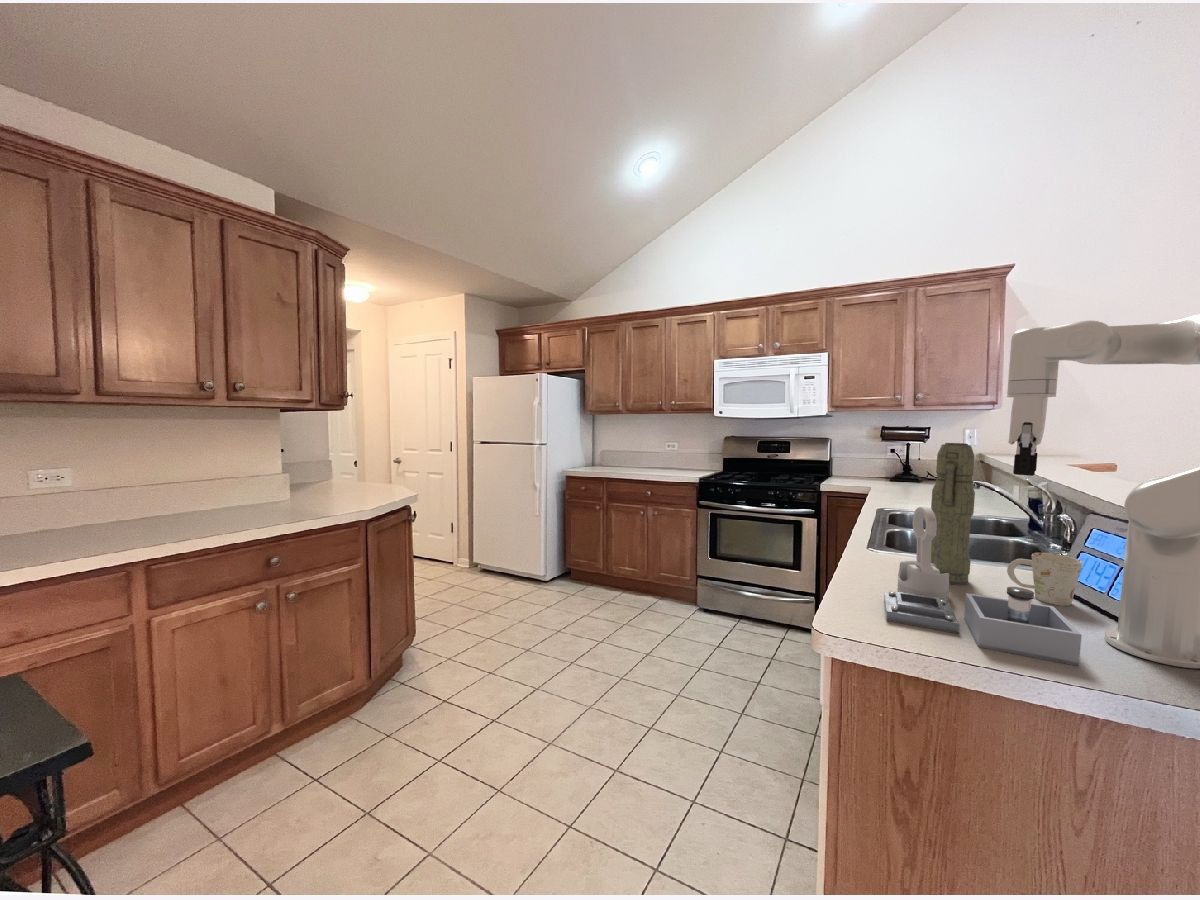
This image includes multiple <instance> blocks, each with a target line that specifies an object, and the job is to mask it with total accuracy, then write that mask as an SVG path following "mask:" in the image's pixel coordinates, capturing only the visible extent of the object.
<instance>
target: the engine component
mask: <svg viewBox="0 0 1200 900" xmlns="http://www.w3.org/2000/svg"><path fill="white" fill-rule="evenodd" d="M924 520H925V530H924ZM912 530H913V534H914V536H915V537H916V560H903V561H900V563H899V566H898V567H899V569H898V573H897V590H896V591H897V592H898V591H899V592H903V593H909V594H916V595H922V596H928V597H935V598H940V599H941V600H945V601H946V602H948V600H949V594H950V593H949V592H950V591H949V590H950V584H949V573H945V574H940V571H939V570H938V569H937V568H936V565H935V564H933V563H931V541H932V540H933V539H934V537H935V536H936V530H937V522H936V517H935V514H934V512H933V510H932V509H931V507H929V506H927V507H926V506H919V507H917V508H916V509H915V510H914V512H913V515H912Z"/></svg>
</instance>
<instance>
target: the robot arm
mask: <svg viewBox="0 0 1200 900" xmlns="http://www.w3.org/2000/svg"><path fill="white" fill-rule="evenodd" d="M1009 351H1010V353H1009V363H1008V364H1009V365H1008V376H1007V377H1008V378H1007V391H1006V397H1007V398H1013V399H1012V406H1011V411H1010V412H1011V413H1010V424H1009V434H1008V444H1009V445H1011V446H1012V445H1015V443H1016V442H1017V443H1016V444H1017V445H1016V452H1015V454H1014V456H1013V457H1014V460H1013V470H1012V471H1013V474H1014V475H1015V476H1016V475H1019V476H1030V477H1031V476H1032V477H1033V476H1035V474H1036V471H1037V467H1038V466H1037V464H1038V452H1037V446H1039V445H1041V443H1042V439H1043V436H1044V432H1045V425H1046V418H1047V410H1048V398H1054V397H1057V387H1058V377H1059V376H1058V375H1059V363H1060V361H1071V362H1076V363H1078V364H1079V363H1080V364H1084V365H1180V366H1181V365H1182V366H1184V365H1185V366H1186V365H1188V366H1189V365H1200V314H1195V315H1192V316H1189V317H1186V318H1182V319H1177V320H1173V321H1172V320H1171V321H1166V322H1158V323H1148V324H1146V323H1145V324H1127V325H1108V324H1106V323H1104V322H1103V321H1098V320H1081V321H1076V322H1071V323H1067V324H1066V323H1065V324H1062V325H1057V326H1051V327H1050V326H1048V327H1045V326H1043V327H1041V326H1040V327H1038V326H1037V327H1032V328H1031V327H1029V328H1022V329H1020V330H1017V331H1015V332H1014V333H1013V334H1012V336H1011V340H1010V350H1009ZM1123 509H1124V514H1125V516H1126V518H1127V520H1128V524H1127V525H1128V526H1127V533H1126V540H1125V541H1126V542H1125V551H1124V561H1123V571H1122V581H1121V588H1120V589H1121V590H1120V591H1121V592H1120V603H1119V611H1118V612H1119V613H1118V622H1117V629H1109V630H1107V631H1104V640H1105V641H1106V642H1107V643H1108V644H1109V645H1110V646H1112V647H1114V648H1116V649H1118V650H1121V651H1123V652H1124V653H1127V654H1130V655H1132V656H1135V657H1138V658H1141V659H1144V660H1148V661H1150V662H1151V661H1152V662H1155V663H1159V664H1163V665H1168V666H1173V667H1179V668H1185V669H1200V467H1197V468H1194V469H1191V470H1187V471H1185V472H1181V473H1178V474H1174V475H1171V476H1169V475H1165V476H1158V477H1157V476H1156V477H1153V478H1150V479H1146V480H1145V481H1143V482H1141V483H1139V484H1138V485H1137V486H1135V487H1134V488H1133V489H1132V490H1131V491H1130V492H1129V494H1128V495H1127V496H1126V499H1125V500H1124V506H1123Z"/></svg>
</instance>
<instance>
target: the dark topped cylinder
mask: <svg viewBox="0 0 1200 900" xmlns="http://www.w3.org/2000/svg"><path fill="white" fill-rule="evenodd" d="M1006 594H1007V595H1008V598H1007V599H1008V610H1007V619H1002V620H1006V621H1012V622H1018V623H1024V624H1029V622H1030V609H1031V603H1032V600H1034V597H1035V591H1032V590H1031V589H1029V588H1025V587H1021V586H1020V587H1018V586H1007V587H1006ZM1030 625H1031V624H1030Z"/></svg>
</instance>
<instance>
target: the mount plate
mask: <svg viewBox="0 0 1200 900" xmlns="http://www.w3.org/2000/svg"><path fill="white" fill-rule="evenodd" d="M883 604H885V605H884V610H885V618H886V621H888V622H893V623H898V624H902V625H903V624H904V625H909V626H915V627H920V628H924V629H930V630H935V631H937V630H938V631H943V632H948V633H953V634H959V633H960V632H959V630H960V622H959V619H958V617H957V615H956V613H955V612H954V609H953V607H952V605H951V603H950V601H945V600H941V599H940V598H935V597H928V596H922V595H916V594H909V593H903V592H898V590H896V591H895V592H894V591H889V592H886V591H885V592H884V595H883Z"/></svg>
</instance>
